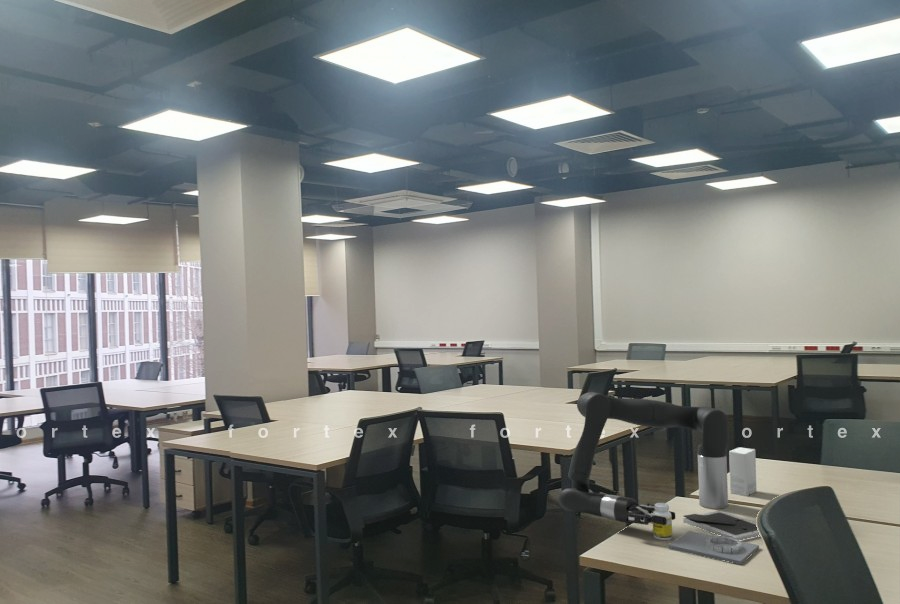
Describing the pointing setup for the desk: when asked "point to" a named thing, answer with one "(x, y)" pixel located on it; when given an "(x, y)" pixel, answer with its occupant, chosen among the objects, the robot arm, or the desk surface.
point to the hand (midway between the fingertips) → (670, 518)
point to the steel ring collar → (724, 549)
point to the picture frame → (723, 524)
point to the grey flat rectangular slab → (697, 545)
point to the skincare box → (742, 471)
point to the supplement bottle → (662, 530)
